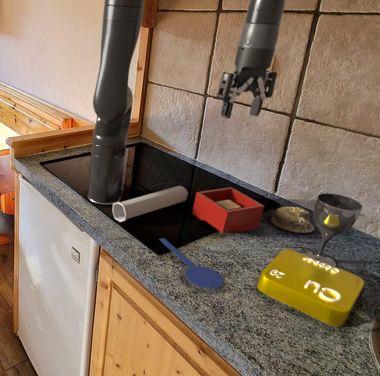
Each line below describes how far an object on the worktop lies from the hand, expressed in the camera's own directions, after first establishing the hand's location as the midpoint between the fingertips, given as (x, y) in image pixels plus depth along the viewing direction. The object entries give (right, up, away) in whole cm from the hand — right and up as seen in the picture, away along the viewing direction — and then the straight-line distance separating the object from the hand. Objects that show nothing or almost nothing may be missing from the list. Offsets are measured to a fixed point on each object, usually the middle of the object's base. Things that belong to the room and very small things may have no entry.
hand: (239, 116), depth 97 cm
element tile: (+6, -39, -16) cm, 42 cm away
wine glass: (+15, -34, -5) cm, 37 cm away
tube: (-17, -23, +15) cm, 33 cm away
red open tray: (+1, -26, +10) cm, 28 cm away
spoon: (-15, -34, -7) cm, 38 cm away
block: (+1, -25, +10) cm, 27 cm away
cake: (+18, -27, +10) cm, 34 cm away
